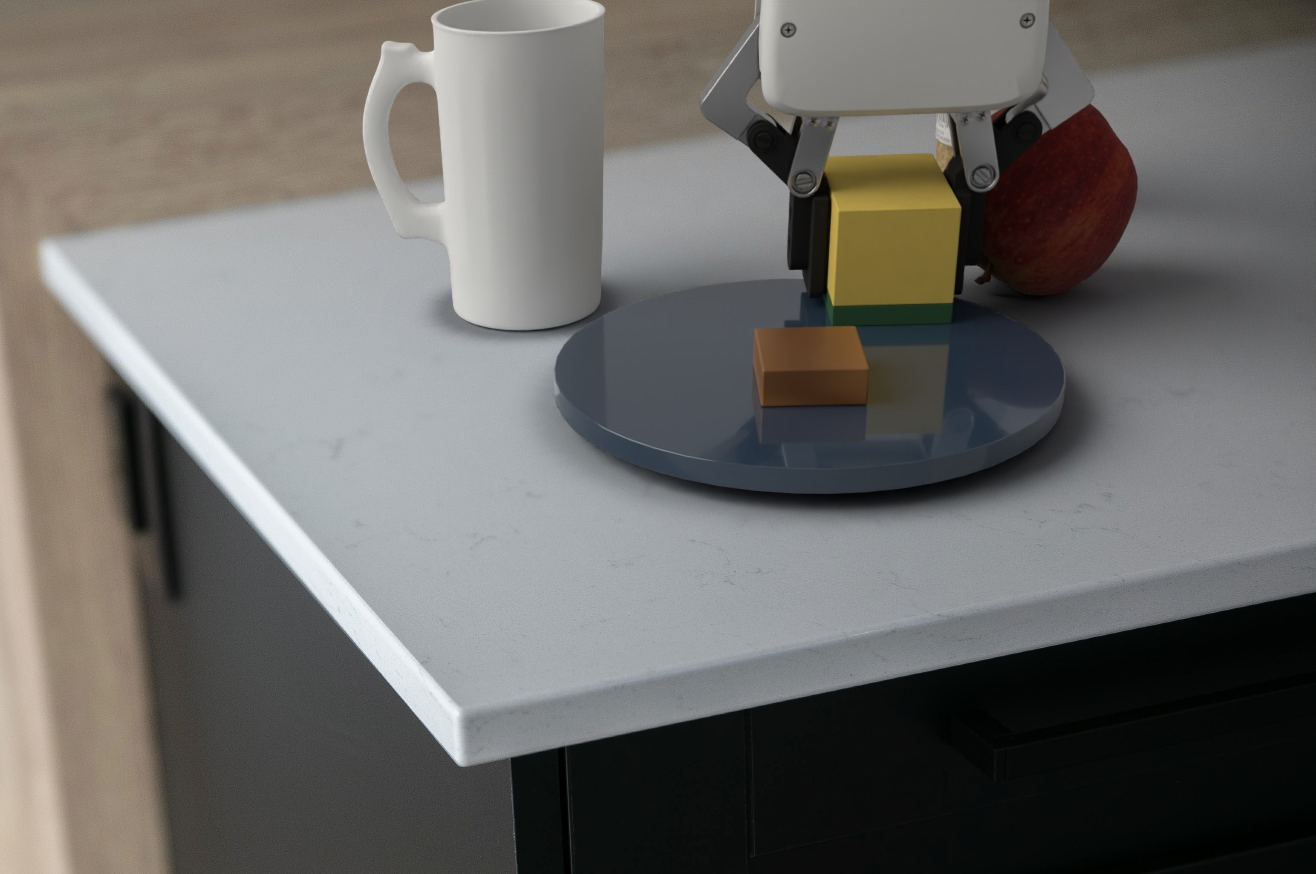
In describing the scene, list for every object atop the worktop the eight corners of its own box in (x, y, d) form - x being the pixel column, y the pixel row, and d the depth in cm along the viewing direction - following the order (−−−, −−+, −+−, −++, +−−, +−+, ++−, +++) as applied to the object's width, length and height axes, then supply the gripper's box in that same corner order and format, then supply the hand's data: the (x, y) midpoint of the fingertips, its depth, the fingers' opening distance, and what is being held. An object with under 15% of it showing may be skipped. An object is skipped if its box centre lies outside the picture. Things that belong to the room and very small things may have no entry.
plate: (1008, 308, 75) (1012, 272, 74) (1115, 507, 59) (1121, 464, 58) (559, 319, 77) (558, 284, 76) (548, 514, 61) (547, 473, 61)
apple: (1143, 321, 73) (1173, 116, 69) (938, 324, 74) (955, 123, 70) (1104, 258, 79) (1129, 67, 75) (916, 262, 80) (931, 74, 76)
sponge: (813, 265, 76) (818, 156, 74) (923, 262, 76) (932, 152, 73) (831, 327, 70) (838, 210, 68) (951, 324, 70) (962, 206, 67)
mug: (621, 281, 80) (619, -6, 74) (591, 337, 75) (587, 32, 69) (397, 273, 83) (379, -5, 77) (352, 327, 77) (329, 32, 72)
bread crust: (854, 361, 67) (856, 325, 66) (867, 406, 64) (870, 367, 63) (752, 363, 67) (754, 327, 67) (760, 407, 64) (762, 369, 63)
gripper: (1143, -249, 66) (1081, 248, 75) (664, -222, 68) (659, 259, 77) (1202, -227, 60) (1127, 314, 69) (670, -198, 61) (664, 324, 70)
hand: (880, 280), depth 73 cm, fingers closed on sponge, 4 cm apart
